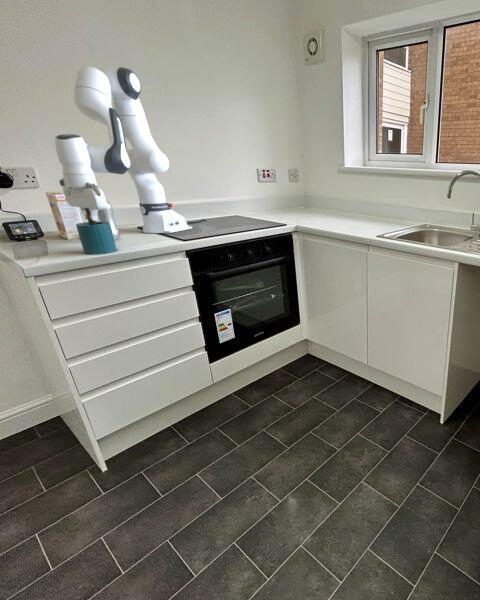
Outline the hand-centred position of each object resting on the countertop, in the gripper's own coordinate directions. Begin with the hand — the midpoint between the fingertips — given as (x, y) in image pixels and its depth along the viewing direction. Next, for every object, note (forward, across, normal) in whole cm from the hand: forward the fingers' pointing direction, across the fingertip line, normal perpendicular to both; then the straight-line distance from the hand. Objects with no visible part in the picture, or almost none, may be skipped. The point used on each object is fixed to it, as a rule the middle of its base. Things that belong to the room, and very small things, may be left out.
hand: (91, 219), depth 135 cm
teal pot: (+12, 0, 0) cm, 12 cm away
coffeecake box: (+13, +40, -9) cm, 43 cm away
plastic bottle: (+12, +19, -14) cm, 27 cm away
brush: (+10, 0, 0) cm, 10 cm away
